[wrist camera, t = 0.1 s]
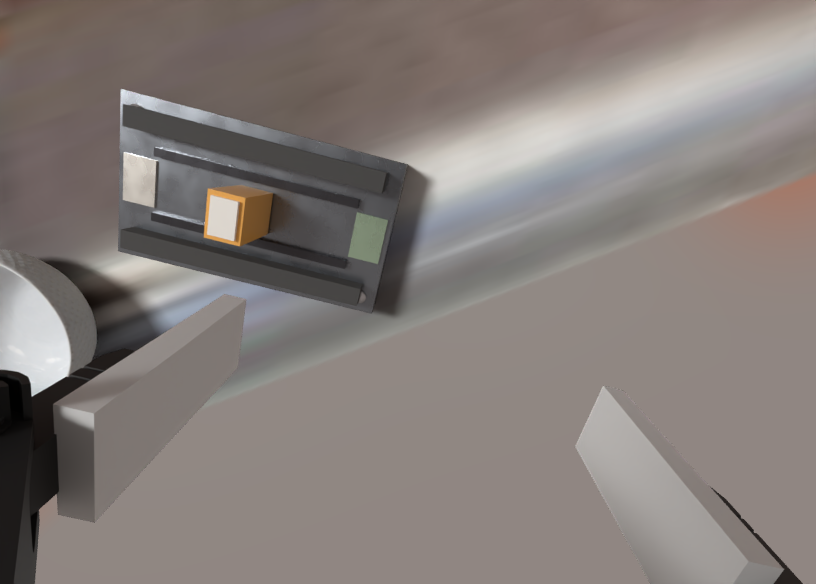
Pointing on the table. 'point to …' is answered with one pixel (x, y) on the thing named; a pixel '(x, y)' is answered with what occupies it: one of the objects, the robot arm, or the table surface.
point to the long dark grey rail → (253, 148)
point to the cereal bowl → (42, 321)
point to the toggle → (237, 214)
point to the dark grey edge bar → (240, 265)
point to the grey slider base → (292, 191)
